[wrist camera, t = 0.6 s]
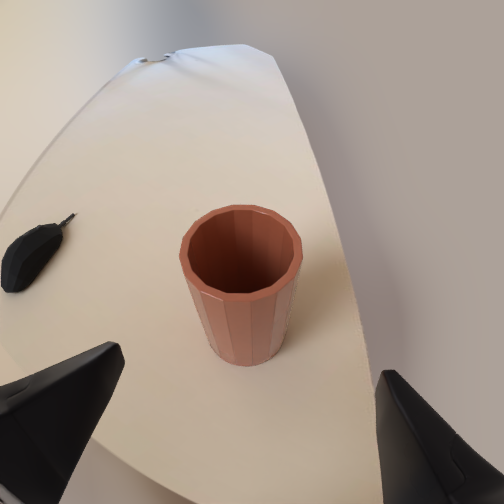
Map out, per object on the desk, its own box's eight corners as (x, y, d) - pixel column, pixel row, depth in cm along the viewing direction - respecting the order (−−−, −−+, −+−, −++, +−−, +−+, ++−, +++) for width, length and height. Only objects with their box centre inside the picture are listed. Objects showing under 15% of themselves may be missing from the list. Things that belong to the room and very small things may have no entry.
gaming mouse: (86, 221, 35) (75, 200, 32) (16, 304, 27) (-2, 287, 24) (63, 209, 37) (52, 189, 34) (-1, 283, 29) (-17, 265, 26)
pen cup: (266, 378, 24) (275, 321, 14) (194, 347, 25) (156, 272, 16) (295, 311, 28) (316, 223, 18) (228, 286, 29) (215, 193, 20)
